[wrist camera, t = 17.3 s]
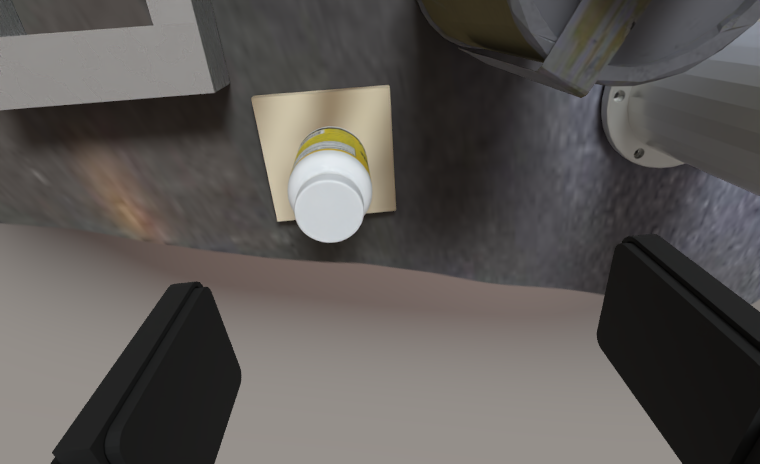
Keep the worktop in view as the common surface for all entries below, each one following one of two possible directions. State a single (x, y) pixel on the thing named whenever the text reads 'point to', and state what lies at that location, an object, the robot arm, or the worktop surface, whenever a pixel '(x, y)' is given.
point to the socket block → (113, 59)
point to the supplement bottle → (330, 184)
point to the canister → (593, 36)
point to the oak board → (322, 109)
